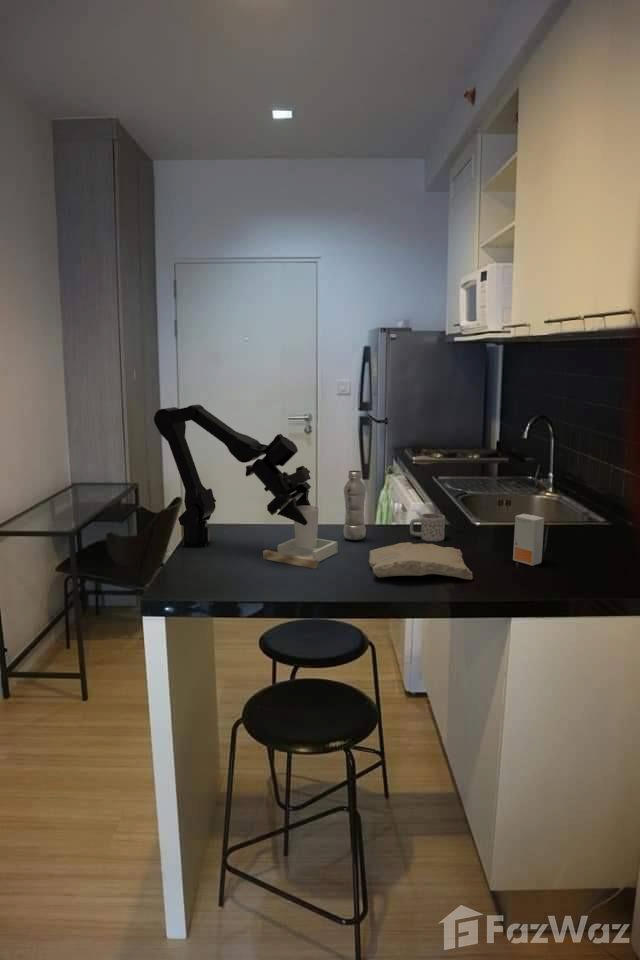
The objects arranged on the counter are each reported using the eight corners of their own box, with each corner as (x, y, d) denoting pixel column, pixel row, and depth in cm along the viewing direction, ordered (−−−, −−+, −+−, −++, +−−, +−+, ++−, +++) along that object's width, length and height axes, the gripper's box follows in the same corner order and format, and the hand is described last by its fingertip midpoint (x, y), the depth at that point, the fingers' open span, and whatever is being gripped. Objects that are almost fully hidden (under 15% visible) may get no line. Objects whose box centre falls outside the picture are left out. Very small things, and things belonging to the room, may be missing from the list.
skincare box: (512, 560, 172) (514, 515, 170) (521, 557, 175) (524, 513, 173) (532, 566, 168) (535, 520, 166) (542, 562, 170) (545, 517, 168)
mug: (442, 535, 197) (442, 513, 196) (445, 541, 190) (446, 518, 189) (408, 535, 197) (408, 513, 196) (410, 541, 191) (411, 518, 189)
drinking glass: (323, 546, 177) (323, 509, 175) (300, 549, 173) (300, 512, 172) (311, 540, 182) (311, 504, 180) (289, 543, 179) (289, 507, 177)
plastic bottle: (366, 536, 196) (366, 469, 192) (365, 543, 189) (365, 473, 185) (344, 536, 196) (344, 469, 192) (342, 542, 190) (342, 473, 186)
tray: (313, 564, 170) (313, 553, 170) (275, 557, 176) (275, 546, 176) (337, 552, 180) (337, 541, 180) (300, 546, 186) (300, 535, 186)
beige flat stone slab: (475, 590, 154) (461, 556, 174) (476, 560, 152) (462, 529, 171) (370, 592, 156) (368, 559, 175) (369, 562, 153) (367, 532, 173)
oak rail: (263, 558, 175) (262, 551, 175) (266, 557, 176) (266, 549, 176) (314, 568, 167) (314, 561, 166) (317, 567, 168) (317, 559, 168)
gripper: (278, 463, 166) (319, 509, 165) (304, 452, 183) (342, 494, 182) (249, 491, 170) (290, 537, 169) (277, 478, 187) (314, 520, 186)
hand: (310, 521), depth 176 cm, fingers closed on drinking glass, 6 cm apart
